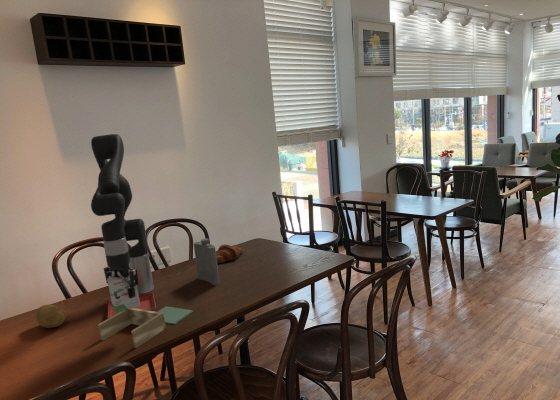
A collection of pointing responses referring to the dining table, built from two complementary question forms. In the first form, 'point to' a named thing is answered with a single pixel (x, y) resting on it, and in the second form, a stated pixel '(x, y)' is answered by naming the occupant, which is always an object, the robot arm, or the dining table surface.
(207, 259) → the hip flask
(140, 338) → the beige u-shaped bracket
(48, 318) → the potato
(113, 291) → the ink box
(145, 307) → the plant saucer
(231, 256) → the pastry
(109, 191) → the robot arm
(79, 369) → the dining table surface
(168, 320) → the mat
